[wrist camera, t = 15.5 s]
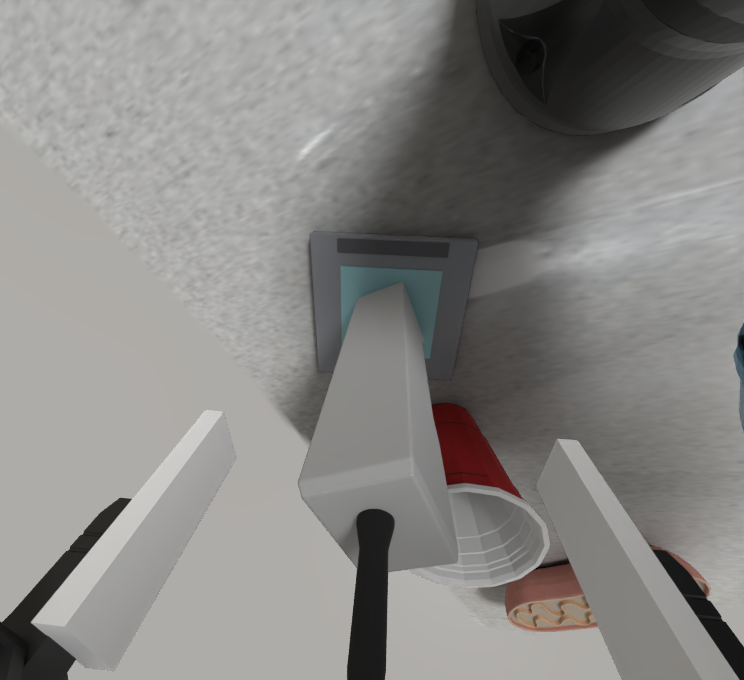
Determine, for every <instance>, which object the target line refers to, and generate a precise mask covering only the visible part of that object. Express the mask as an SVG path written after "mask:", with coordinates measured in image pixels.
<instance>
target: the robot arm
mask: <svg viewBox="0 0 744 680" xmlns="http://www.w3.org/2000/svg"><path fill="white" fill-rule="evenodd" d="M476 2H477V17H478V26H479V32H480V38H481V43H482V47H483V51H484V54H485V58H486V61H487V64H488V66H489V69H490V71H491V74H492V76H493V78H494V80H495V82H496V84H497V85H498V87H499V89H500V90H501V92H502V93H503V95H504V96H505V97H506V99H507V100H508V101H509V102H510V104H511V105H512V106H513V107H514V108H515V109H516V110H517V111H518V112H519V113H521V114H522V115H523V116H524V117H526V118H527V119H528V120H530V121H532V122H533V123H535V124H537V125H539V126H541V127H543V128H546V129H548V130H551V131H555V132H558V133H563V134H570V135H592V134H600V133H606V132H611V131H615V130H620V129H625V128H629V127H633V126H637V125H640V124H643V123H646V122H649V121H652V120H654V119H656V118H659V117H661V116H664V115H666V114H668V113H670V112H672V111H674V110H676V109H678V108H680V107H682V106H684V105H686V104H688V103H689V102H691V101H693V100H694V99H696V98H698V97H699V96H701V95H702V94H704V93H705V92H707V91H708V90H710V89H711V88H713V87H714V86H715V85H717V84H718V83H719V82H721V81H722V80H723V79H725V78H726V77H728V76H729V75H731V74H732V73H734V72H735V71H737V70H738V69H740V68H742V67H743V66H744V0H476ZM734 361H735V365H736V370H737V373H738V375H739V377H740V402H739V412H740V419H741V424H742V428H743V431H744V324H743V325H742V327H741V329H740V331H739V333H738V345H737V349H736V350H735V353H734ZM235 460H236V456H235V452H234V448H233V444H232V441H231V437H230V433H229V429H228V426H227V422H226V418H225V414H224V412H222V411H210V410H205V411H204V413H203V414H202V415H201V416H200V417H199V419H198V420H197V421H196V422H195V423H194V425H193V426H192V427H191V428H190V430H189V431H188V432H187V433H186V434H185V436H184V437H183V438H182V440H180V442H179V443H178V444H177V445H176V447H175V448H174V449H173V450H172V451H171V453H170V454H169V455H168V456H167V457H166V459H165V460H164V461H163V462H162V464H161V465H160V466H159V467H158V469H157V470H156V471H155V472H154V473H153V475H152V476H151V477H150V478H149V479H148V481H147V482H146V483H145V484H144V485H143V487H142V488H141V489H140V490H139V492H138V493H137V494H136V495H135V496H134V498H133V499H127V498H119V499H118V500H117V501H115V502H114V503H113V504H111V505H110V506H109V507H108V508H106V509H105V510H103V511H102V512H101V513H100V514H99V515H98V516H97V517H96V518H95V519H94V520H93V522H92V523H91V524H90V525H89V526H88V527H87V528H86V529H85V531H84V533H83V535H80V536H79V538H78V539H77V540H76V541H75V542H74V543H73V544H72V545H71V546H70V550H68V551H66V552H65V553H64V554H63V555H62V557H61V558H60V559H59V560H58V561H57V562H56V563H55V565H54V566H53V567H52V568H51V569H50V570H49V571H48V573H47V574H46V575H45V576H44V577H43V578H42V579H41V580H40V581H39V583H38V584H37V585H36V586H35V587H34V588H33V589H32V591H31V592H30V593H29V594H28V595H27V596H26V597H25V598H24V600H23V601H22V602H21V603H20V604H19V605H18V607H16V609H15V610H14V611H13V612H12V613H11V614H10V615H9V616H8V617H7V618H6V619H5V620H4V621H3V622H2V623H1V622H0V680H68V675H67V672H68V670H69V669H70V667H71V666H72V664H73V663H74V661H75V660H77V661H78V662H79V663H81V664H82V665H83V666H84V667H85V668H92V669H100V670H107V671H114V670H115V669H116V667H117V665H118V663H119V662H120V660H121V658H122V656H123V655H124V653H125V651H126V650H127V648H128V646H129V644H130V643H131V641H132V639H133V637H134V636H135V634H136V632H137V630H138V629H139V626H140V625H141V623H142V622H143V620H144V618H145V616H146V614H147V613H148V611H149V609H150V608H151V606H152V604H153V602H154V601H155V599H156V597H157V595H158V594H159V592H160V590H161V589H162V587H163V585H164V583H165V582H166V580H167V578H168V576H169V575H170V573H171V571H172V569H173V568H174V566H175V564H176V562H177V561H178V559H179V557H180V555H181V554H182V552H183V550H184V548H185V547H186V545H187V543H188V542H189V540H190V538H191V536H192V535H193V533H194V531H195V529H196V528H197V526H198V524H199V522H200V521H201V519H202V517H203V515H204V514H205V512H206V510H207V508H208V507H209V505H210V503H211V501H212V500H213V498H214V496H215V494H216V493H217V491H218V489H219V488H220V486H221V484H222V482H223V481H224V479H225V477H226V475H227V474H228V472H229V470H230V468H231V467H232V465H233V463H234V461H235ZM536 487H537V489H538V491H539V494H540V496H541V498H542V500H543V503H544V505H545V507H546V510H547V512H548V514H549V516H550V519H551V521H552V523H553V525H554V528H555V530H556V532H557V534H558V537H559V539H560V541H561V543H562V546H563V548H564V550H565V552H566V555H567V557H568V559H569V561H570V564H571V566H572V568H573V571H574V573H575V575H576V577H577V580H578V582H579V584H580V586H581V589H582V591H583V593H584V595H585V598H586V600H587V602H588V604H589V607H590V609H591V611H592V613H593V616H594V618H595V620H596V622H597V625H598V627H599V629H600V631H601V634H602V636H603V638H604V641H605V643H606V645H607V647H608V650H609V652H610V654H611V656H612V659H613V661H614V663H615V665H616V667H617V670H618V672H619V674H620V676H621V679H622V680H744V647H743V645H742V644H741V643H740V641H739V640H738V638H737V637H736V636H735V634H734V633H733V632H732V630H731V629H730V628H729V626H728V625H727V624H726V622H723V621H722V619H721V615H720V614H719V613H718V611H717V610H716V608H715V607H714V606H713V604H712V603H711V602H710V601H708V600H707V598H706V595H705V593H704V592H703V591H702V589H701V588H700V587H699V585H698V584H697V582H696V581H695V580H694V578H693V577H692V576H691V574H690V573H689V572H688V571H687V570H686V569H685V568H684V567H683V566H682V565H681V564H680V563H679V562H678V561H677V560H676V559H675V558H674V557H673V556H671V555H670V554H669V553H668V552H667V551H665V550H654V549H651V548H650V547H649V545H648V544H647V542H646V541H645V539H644V538H643V536H642V535H641V533H640V532H639V530H638V529H637V527H636V526H635V524H634V523H633V521H632V520H631V519H630V517H629V516H628V514H627V513H626V511H625V510H624V508H623V507H622V505H621V504H620V502H619V501H618V499H617V498H616V496H615V495H614V493H613V492H612V490H611V489H610V487H609V486H608V485H607V483H606V482H605V480H604V479H603V477H602V476H601V474H600V473H599V471H598V470H597V468H596V467H595V465H594V464H593V462H592V461H591V459H590V458H589V456H588V455H587V453H586V452H585V450H584V449H583V448H582V446H581V445H580V443H579V442H578V440H568V439H557V440H556V442H555V444H554V446H553V448H552V450H551V453H550V455H549V457H548V459H547V461H546V463H545V466H544V468H543V470H542V472H541V474H540V477H539V479H538V481H537V483H536Z"/></svg>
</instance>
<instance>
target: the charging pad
mask: <svg viewBox="0 0 744 680" xmlns="http://www.w3.org/2000/svg"><path fill="white" fill-rule="evenodd" d="M478 243H479V242H478V241H477V240H476V239H470V238H448V237H427V236H406V235H384V234H363V233H342V232H320V231H313V232H312V233H310V244H311V260H312V276H313V292H314V307H315V323H316V339H317V355H318V371H319V372H334V369H335V366H336V363H337V360H338V357H339V354H340V351H341V348H342V345H343V342H344V338H345V335H346V332H347V329H348V326H349V323H350V320H351V317H352V314H353V311H354V308H355V304H356V301H357V298H359V297H362V296H364V295H367V294H370V293H372V292H375V291H378V290H381V289H383V288H386V287H389V286H391V285H394V284H397V283H399V282H403V283H404V286H405V289H406V291H407V294H408V297H409V299H410V302H411V305H412V307H413V310H414V313H415V315H416V318H417V321H418V323H419V326H420V329H421V332H422V334H423V338H424V342H423V343H422V346H423V353H424V359H425V366H426V373H427V379H434V380H449V381H451V380H452V375H453V370H454V365H455V359H456V354H457V349H458V344H459V339H460V334H461V329H462V324H463V319H464V314H465V309H466V304H467V298H468V293H469V288H470V283H471V278H472V273H473V268H474V263H475V258H476V253H477V248H478Z"/></svg>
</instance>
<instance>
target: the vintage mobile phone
mask: <svg viewBox="0 0 744 680" xmlns="http://www.w3.org/2000/svg"><path fill="white" fill-rule="evenodd" d="M423 342H424V338H423V334H422V332H421V329H420V326H419V323H418V321H417V318H416V315H415V313H414V310H413V307H412V305H411V302H410V299H409V297H408V294H407V291H406V289H405V286H404V283H403V282H399V283H397V284H394V285H391V286H389V287H386V288H383V289H381V290H378V291H375V292H372V293H370V294H367V295H364V296H362V297H359V298H357V301H356V304H355V308H354V311H353V314H352V317H351V320H350V323H349V326H348V329H347V332H346V335H345V338H344V342H343V345H342V348H341V351H340V354H339V357H338V360H337V363H336V366H335V369H334V372H333V375H332V379H331V382H330V385H329V388H328V391H327V394H326V397H325V400H324V403H323V406H322V409H321V413H320V416H319V419H318V422H317V425H316V428H315V431H314V434H313V437H312V440H311V443H310V446H309V450H308V453H307V456H306V459H305V462H304V465H303V468H302V471H301V474H300V478H299V480H298V485H299V490H300V493H301V497H302V499H303V500H304V501H305V503H306V504H307V505H308V507H309V508H310V509H311V510H312V512H313V513H314V514H315V515H316V517H317V518H318V519H319V521H320V522H321V523H322V524H323V526H324V527H325V528H326V529H327V531H328V532H329V533H330V535H331V536H332V537H333V538H334V539H335V541H336V542H337V543H338V544H339V546H340V547H341V548H342V550H343V551H344V552H345V554H346V555H347V556H348V557H349V559H350V560H351V561H352V562H353V564H354V565H355V566H356V568H357V577H356V586H355V587H356V588H355V596H354V606H353V616H352V626H351V636H350V646H349V656H348V665H347V680H385V673H386V638H387V595H388V593H387V592H388V572H392V571H400V570H408V569H416V568H424V567H432V566H440V565H448V564H456V563H457V562H458V545H457V540H456V534H455V528H454V523H453V517H452V512H451V506H450V500H449V495H448V489H447V483H446V478H445V472H444V467H443V461H442V455H441V450H440V444H439V440H438V436H437V431H436V427H435V423H434V419H433V412H432V406H431V399H430V392H429V386H428V379H427V373H426V366H425V359H424V353H423V346H422V343H423Z"/></svg>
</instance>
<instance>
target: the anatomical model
mask: <svg viewBox="0 0 744 680" xmlns="http://www.w3.org/2000/svg"><path fill="white" fill-rule="evenodd" d="M649 547H650V548H651V549H654V550H664V549H662V548H659V547H655V546H650V545H649ZM665 551H667V550H665ZM667 552H668V553H669V554H670V555H671V556H673V557H674V558H675V559H676V560H677V561H678V562H679V563H680V564H681V565H682V566H683V567H684V568H685V569H686V570H687V571H688V572H689V573H690V574H691V576H692V577H693V578H694V580H695V581H696V582H697V584H698V585H699V587H700V588H701V589H702V591H703V592H704V593H705V595H706V598H707V597H708V596H709V595H710V591H711V588H710V586H709V585H708V583H707V582H706V581H705V579H704V578H703V577H702V576H701V575H700V573H699V572H698V571H696V570H695V569H694V568H693V567H692V566H691V565H690V564H689V563H687V562H686V561H685V560H683V559H682V558H680V557H679V556H677V555H675V554H673V553H671V552H669V551H667ZM505 606H506V612H507V616H508V620H509V621H510V623H512V624H513V625H514V626H516V627H518V628H521V629H523V630H528V631H533V632H556V631H566V630H576V629H586V628H594V627H598V625H597V622H596V620H595V618H594V616H593V613H592V611H591V609H590V607H589V604H588V602H587V600H586V598H585V595H584V593H583V591H582V589H581V586H580V584H579V582H578V580H577V577H576V575H575V573H574V571H573V568H572V566H571V564H570V563H568V564H564V565H559V566H553V567H547V568H541V569H535V570H532V571H531V572H529V573H528V574H526V575H525V576H524V577H522V578H521V579H518V580H515V581H512V582H510V583H509V586H508V588H507V591H506V598H505Z"/></svg>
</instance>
